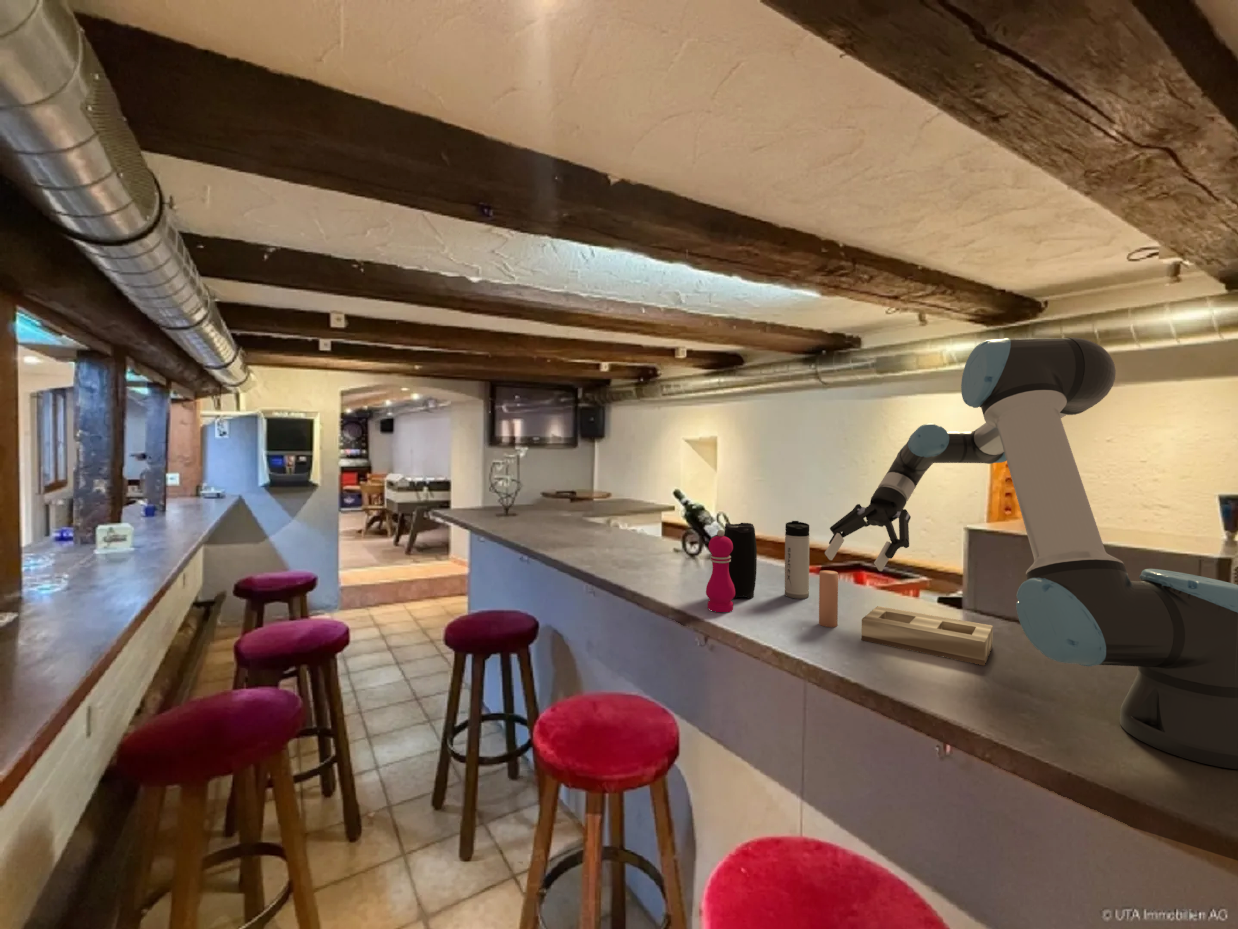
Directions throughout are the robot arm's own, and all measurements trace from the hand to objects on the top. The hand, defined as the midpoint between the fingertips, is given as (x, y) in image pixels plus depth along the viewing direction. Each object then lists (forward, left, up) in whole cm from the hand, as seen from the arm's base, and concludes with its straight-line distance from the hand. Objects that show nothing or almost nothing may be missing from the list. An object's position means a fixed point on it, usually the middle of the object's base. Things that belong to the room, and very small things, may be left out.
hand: (851, 562), depth 135 cm
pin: (-8, +2, -13) cm, 16 cm away
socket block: (-8, -18, -13) cm, 24 cm away
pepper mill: (-13, +27, -14) cm, 33 cm away
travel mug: (+11, +17, -14) cm, 25 cm away
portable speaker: (+1, +29, -14) cm, 33 cm away
